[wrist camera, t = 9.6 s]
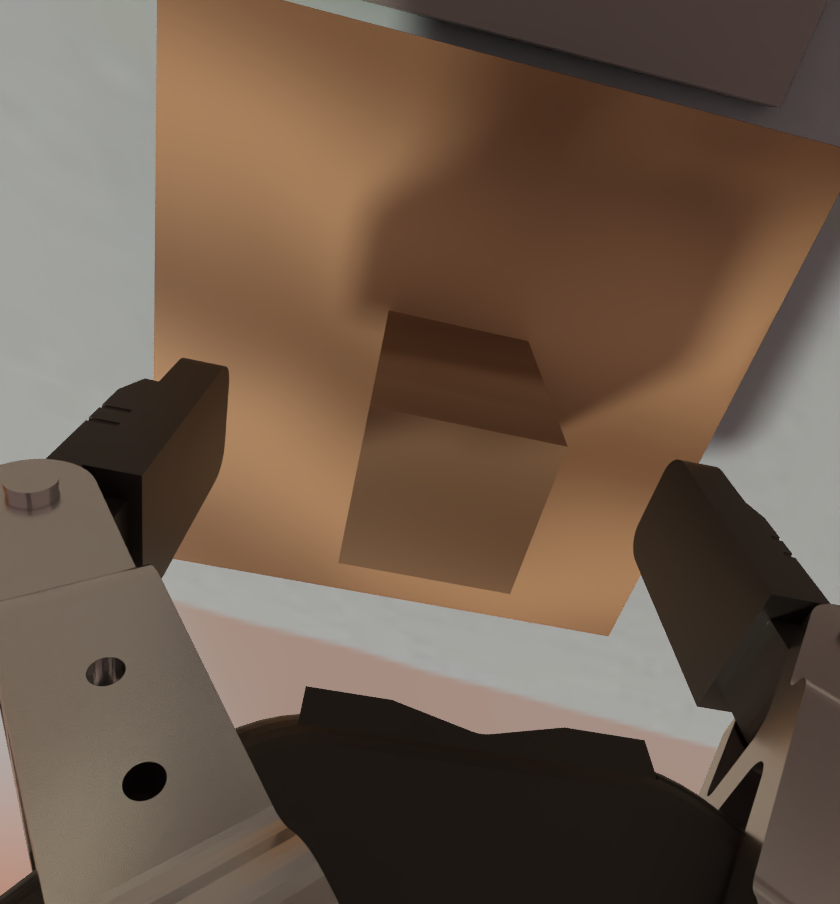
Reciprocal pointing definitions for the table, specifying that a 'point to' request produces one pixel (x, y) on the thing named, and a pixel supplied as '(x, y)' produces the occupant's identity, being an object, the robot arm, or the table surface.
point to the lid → (454, 302)
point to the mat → (656, 36)
